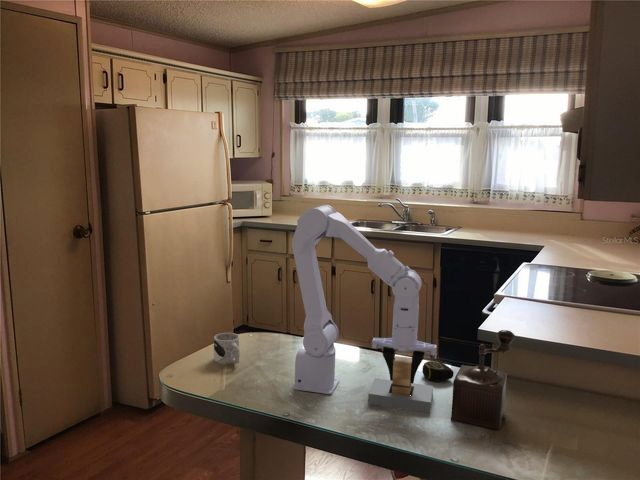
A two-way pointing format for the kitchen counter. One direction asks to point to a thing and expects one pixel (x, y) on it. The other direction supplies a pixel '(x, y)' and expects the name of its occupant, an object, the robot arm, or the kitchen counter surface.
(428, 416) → the kitchen counter surface
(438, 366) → the tape measure
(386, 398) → the hole board
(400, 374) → the oak peg
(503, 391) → the manual coffee grinder
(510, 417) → the kitchen counter surface
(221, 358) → the mug
